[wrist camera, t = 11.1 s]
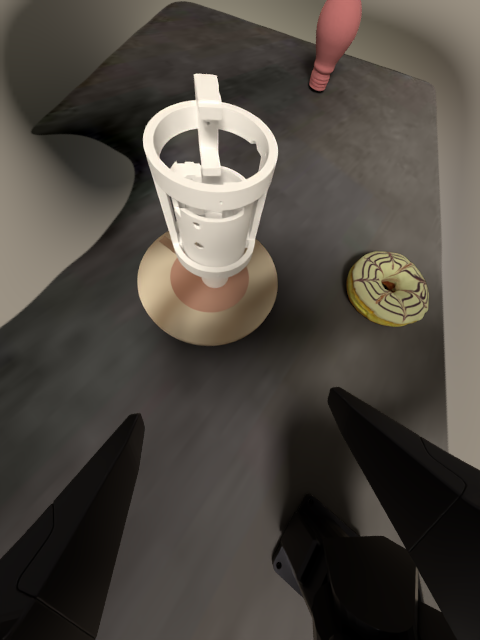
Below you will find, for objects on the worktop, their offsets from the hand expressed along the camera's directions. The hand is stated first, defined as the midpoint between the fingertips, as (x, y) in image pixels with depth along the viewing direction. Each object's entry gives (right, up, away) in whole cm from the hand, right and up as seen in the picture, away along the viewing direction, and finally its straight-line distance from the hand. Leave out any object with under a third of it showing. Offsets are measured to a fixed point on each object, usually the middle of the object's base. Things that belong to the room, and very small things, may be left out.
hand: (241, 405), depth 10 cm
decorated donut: (+19, +8, +20) cm, 29 cm away
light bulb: (+16, +53, +35) cm, 65 cm away
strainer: (-3, +9, +14) cm, 17 cm away
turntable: (-4, +9, +15) cm, 18 cm away
